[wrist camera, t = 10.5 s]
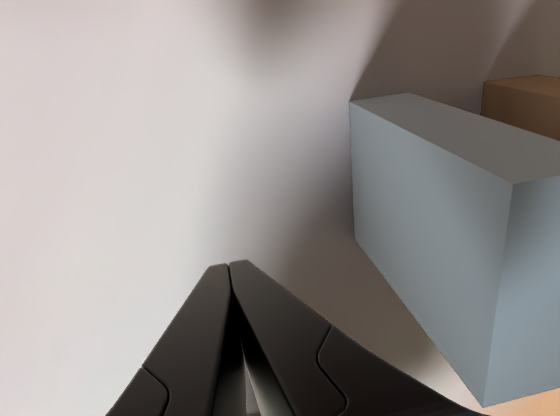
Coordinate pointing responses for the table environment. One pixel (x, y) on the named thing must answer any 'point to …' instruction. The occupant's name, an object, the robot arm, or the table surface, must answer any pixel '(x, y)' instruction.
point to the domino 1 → (464, 236)
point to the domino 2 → (524, 103)
